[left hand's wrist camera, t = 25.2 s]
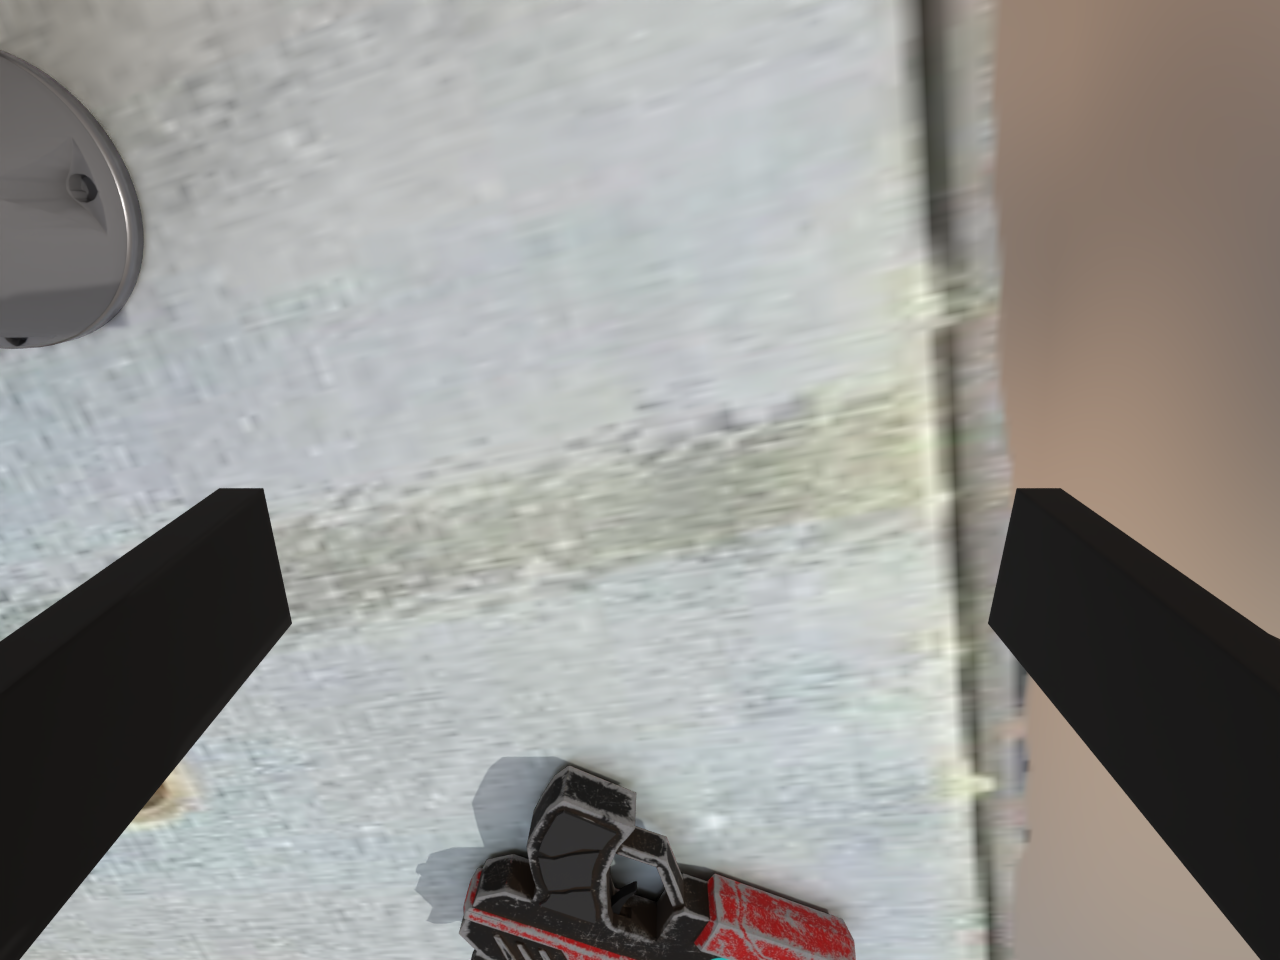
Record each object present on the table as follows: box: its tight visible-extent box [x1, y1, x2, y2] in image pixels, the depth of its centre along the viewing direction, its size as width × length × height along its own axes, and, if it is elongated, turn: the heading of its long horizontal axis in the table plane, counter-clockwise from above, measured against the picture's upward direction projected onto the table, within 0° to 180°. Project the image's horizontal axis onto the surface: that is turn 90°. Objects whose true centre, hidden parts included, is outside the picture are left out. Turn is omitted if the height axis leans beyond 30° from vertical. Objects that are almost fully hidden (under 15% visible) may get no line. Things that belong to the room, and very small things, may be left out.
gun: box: [459, 766, 856, 960], centre depth 56 cm, size 4×31×19 cm
